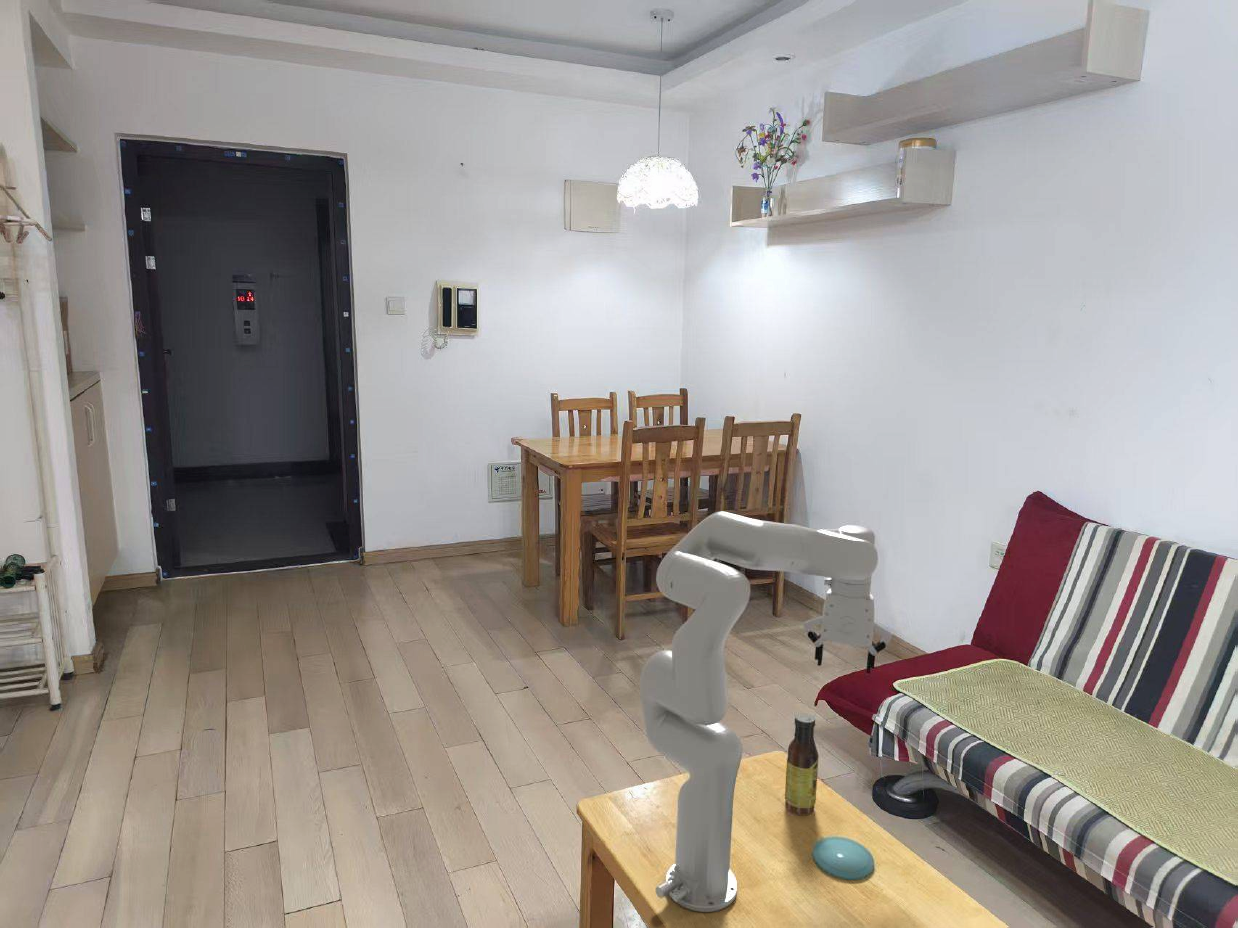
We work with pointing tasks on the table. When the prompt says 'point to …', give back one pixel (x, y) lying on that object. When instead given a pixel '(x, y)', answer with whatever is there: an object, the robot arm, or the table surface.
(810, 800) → the sauce bottle
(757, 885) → the table surface
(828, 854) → the coaster
